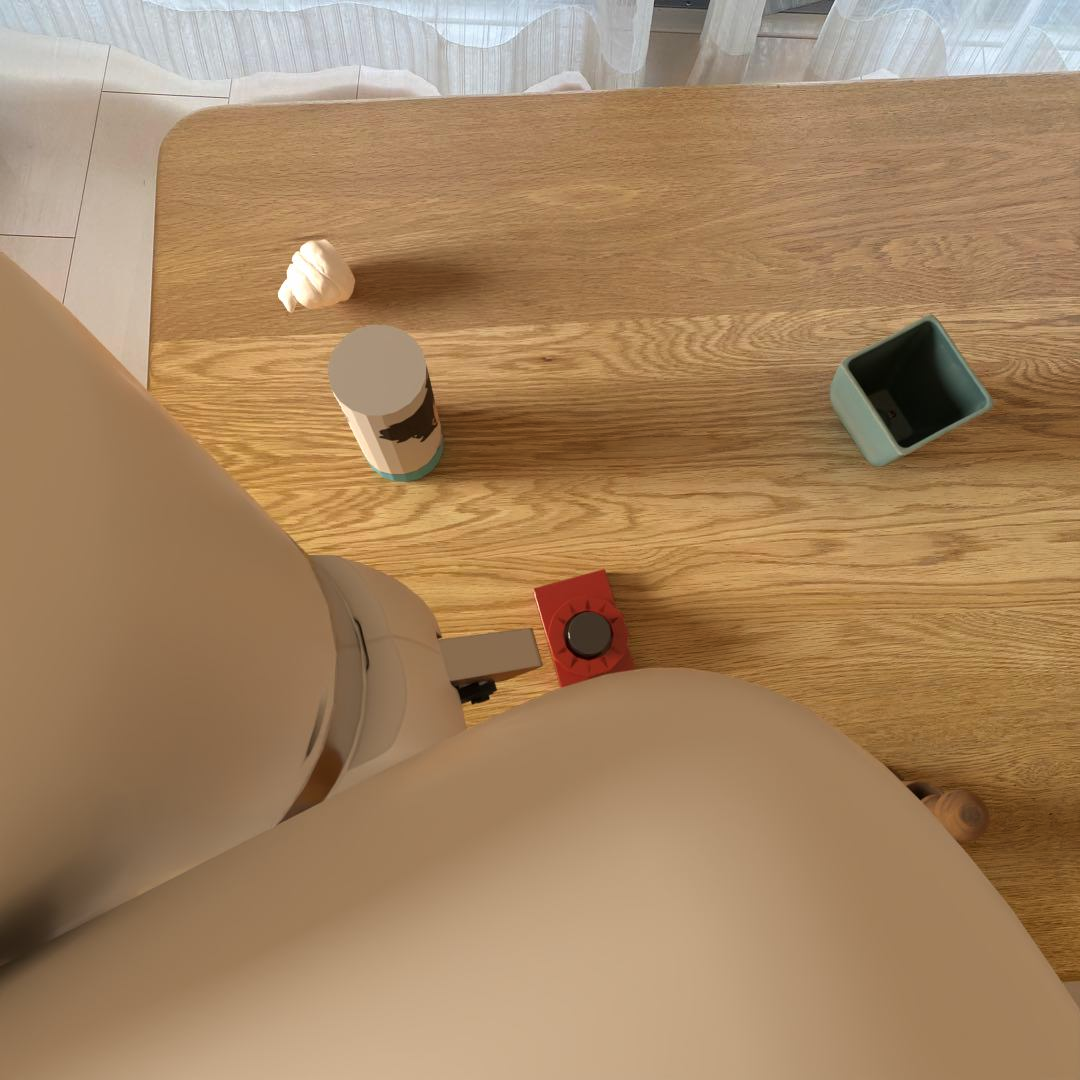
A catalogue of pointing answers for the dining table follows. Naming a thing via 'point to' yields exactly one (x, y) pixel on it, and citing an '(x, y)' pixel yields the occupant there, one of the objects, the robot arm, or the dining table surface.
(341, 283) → the garlic bulb
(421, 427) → the beige cylindrical canister
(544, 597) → the button block
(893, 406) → the flower pot
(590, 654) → the button
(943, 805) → the mortar and pestle
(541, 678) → the dining table surface
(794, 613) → the dining table surface
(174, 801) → the robot arm
